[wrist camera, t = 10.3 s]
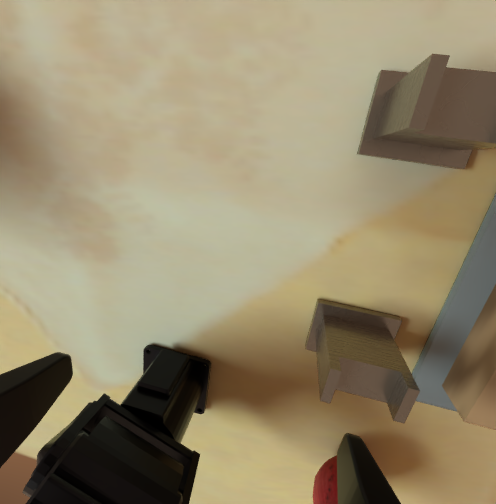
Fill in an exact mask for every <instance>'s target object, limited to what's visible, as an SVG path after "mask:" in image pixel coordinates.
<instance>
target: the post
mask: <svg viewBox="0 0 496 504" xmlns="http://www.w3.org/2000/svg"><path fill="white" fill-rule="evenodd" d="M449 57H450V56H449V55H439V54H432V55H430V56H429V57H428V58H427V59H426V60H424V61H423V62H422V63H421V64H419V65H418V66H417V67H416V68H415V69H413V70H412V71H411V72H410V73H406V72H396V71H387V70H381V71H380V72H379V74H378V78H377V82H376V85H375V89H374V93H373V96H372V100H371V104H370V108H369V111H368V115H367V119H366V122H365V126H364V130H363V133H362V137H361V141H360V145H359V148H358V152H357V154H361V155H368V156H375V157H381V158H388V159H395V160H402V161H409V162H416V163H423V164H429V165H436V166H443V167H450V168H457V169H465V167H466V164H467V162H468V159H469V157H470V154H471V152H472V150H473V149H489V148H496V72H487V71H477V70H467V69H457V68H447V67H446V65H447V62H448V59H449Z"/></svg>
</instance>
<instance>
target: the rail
mask: <svg viewBox="0 0 496 504" xmlns="http://www.w3.org/2000/svg"><path fill="white" fill-rule="evenodd" d="M442 387H443V389H444V390H445V392H446V394H447V395H448V397H449V398H450V400H451V402H452V403H453V405H454V406H455V408H456V410H457V411H458V413H459V415H460V416H461V418H462V419H463V421H464V422H467V423H471V424H475V425H478V426H482V427H486V428H490V429H494V430H496V284H495V286H494V288H493V290H492V292H491V294H490V296H489V298H488V299H487V301H486V303H485V305H484V307H483V309H482V311H481V313H480V314H479V316H478V318H477V320H476V322H475V324H474V326H473V328H472V330H471V331H470V333H469V335H468V337H467V339H466V341H465V343H464V345H463V346H462V348H461V350H460V352H459V354H458V356H457V358H456V360H455V362H454V363H453V365H452V367H451V369H450V371H449V373H448V375H447V377H446V378H445V380H444V382H443V384H442Z"/></svg>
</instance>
